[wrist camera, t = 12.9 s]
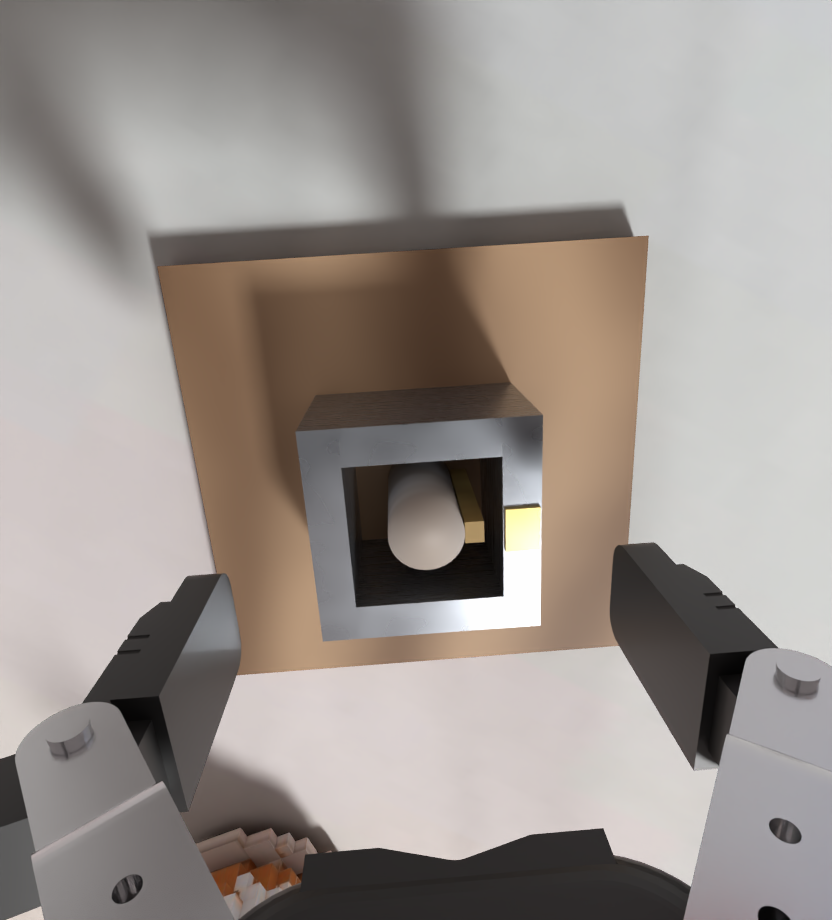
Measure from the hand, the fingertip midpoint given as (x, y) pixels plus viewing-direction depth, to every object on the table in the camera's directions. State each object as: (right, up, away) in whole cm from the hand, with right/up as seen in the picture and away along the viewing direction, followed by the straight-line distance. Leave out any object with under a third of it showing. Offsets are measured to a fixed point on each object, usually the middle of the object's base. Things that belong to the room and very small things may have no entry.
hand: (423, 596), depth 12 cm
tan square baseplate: (0, +2, +8) cm, 8 cm away
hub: (0, +2, +7) cm, 7 cm away
